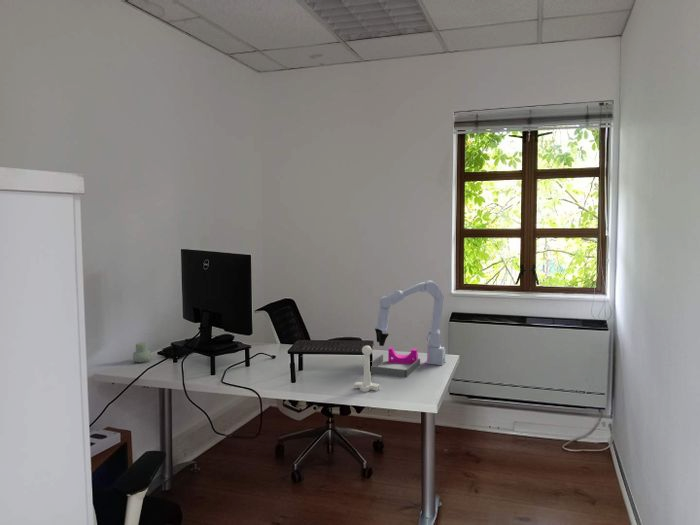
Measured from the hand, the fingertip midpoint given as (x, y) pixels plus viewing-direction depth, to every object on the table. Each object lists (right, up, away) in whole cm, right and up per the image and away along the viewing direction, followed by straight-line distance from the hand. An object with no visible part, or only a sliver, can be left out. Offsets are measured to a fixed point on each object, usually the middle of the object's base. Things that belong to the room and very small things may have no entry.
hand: (380, 343), depth 285 cm
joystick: (-9, -14, -43) cm, 46 cm away
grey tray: (+6, -11, -10) cm, 16 cm away
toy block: (+13, -11, +3) cm, 17 cm away
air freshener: (-131, -11, +9) cm, 132 cm away
